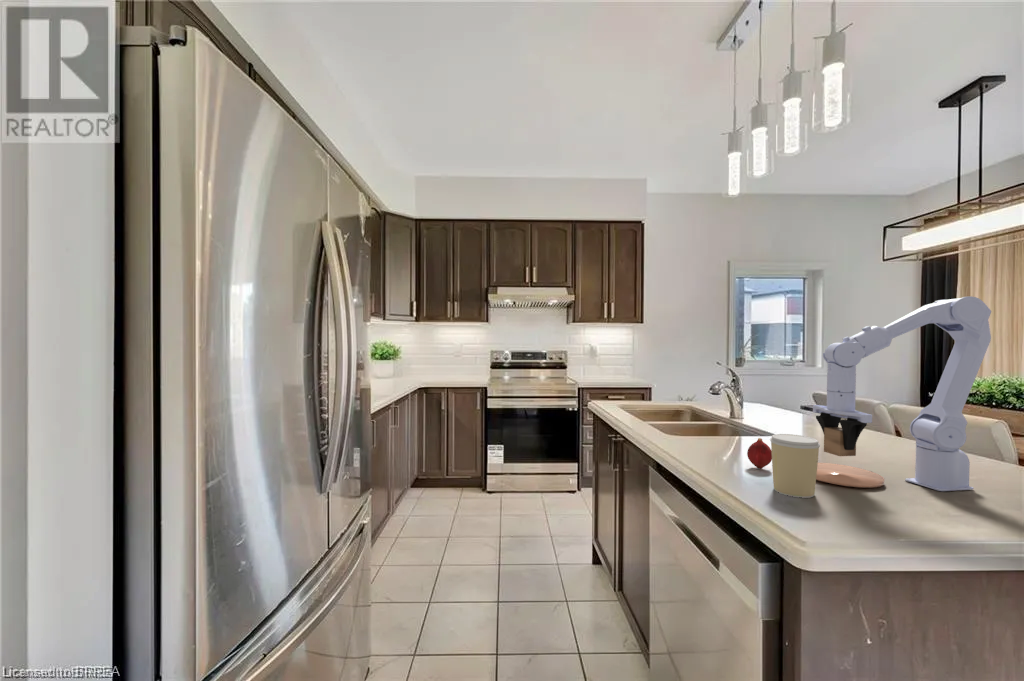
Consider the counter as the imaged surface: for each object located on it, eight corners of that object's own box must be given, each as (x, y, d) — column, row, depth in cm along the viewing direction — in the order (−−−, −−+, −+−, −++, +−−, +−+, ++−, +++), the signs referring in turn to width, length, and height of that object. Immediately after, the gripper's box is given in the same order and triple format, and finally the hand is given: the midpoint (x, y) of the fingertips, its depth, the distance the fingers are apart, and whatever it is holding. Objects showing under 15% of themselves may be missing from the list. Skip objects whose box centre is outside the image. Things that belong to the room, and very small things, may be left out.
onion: (775, 472, 115) (776, 441, 115) (751, 471, 116) (751, 440, 116) (767, 466, 121) (768, 436, 121) (744, 464, 122) (744, 435, 122)
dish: (838, 467, 121) (838, 461, 121) (903, 488, 104) (904, 481, 104) (782, 469, 118) (782, 463, 118) (840, 491, 101) (840, 485, 101)
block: (839, 451, 114) (839, 427, 113) (855, 455, 109) (856, 430, 109) (823, 451, 113) (824, 427, 113) (839, 456, 108) (840, 431, 108)
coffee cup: (814, 488, 103) (815, 436, 103) (823, 502, 95) (823, 444, 95) (767, 482, 107) (768, 432, 107) (771, 495, 99) (772, 440, 98)
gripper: (802, 388, 117) (801, 440, 117) (854, 395, 103) (852, 455, 103) (826, 388, 118) (825, 439, 119) (880, 395, 104) (879, 454, 104)
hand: (839, 446), depth 111 cm, fingers closed on block, 4 cm apart
